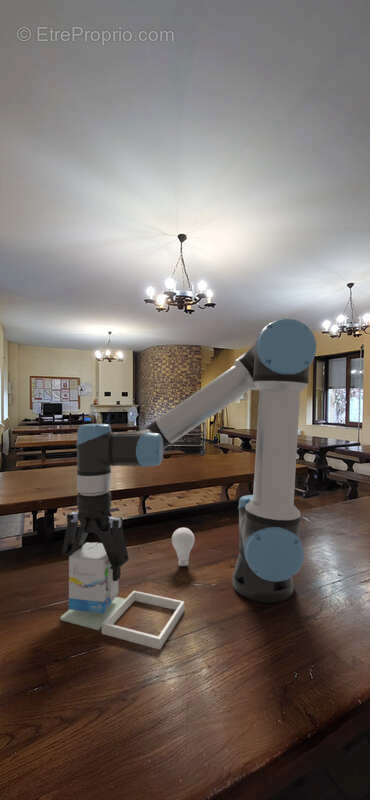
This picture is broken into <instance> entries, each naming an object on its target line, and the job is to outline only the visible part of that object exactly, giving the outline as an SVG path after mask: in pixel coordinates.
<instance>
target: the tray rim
mask: <svg viewBox="0 0 370 800" xmlns="http://www.w3.org/2000/svg"><path fill="white" fill-rule="evenodd" d="M124 599H125V600H124V601H123V602H122V603H121V604H120V605H119V606H118V607H117V608H116V609H115V610H114V612H113V613H112V614H111V615H110V616H109V617H108V618H107V619H106V620H105V621H104V622H103V623H102V628H101V634H102V635H105V636H108V637H113V638H115V639H120V640H124V641H127V642H131V643H134V644H138V645H141V646H142V645H143V646H146V647H149V648H152V649H156V650H161V649H162V647H164V646H163V645H164V644H165V642H167V641H166V640H168V638H169V636H170V635H171V633H172V631H174V628H175V626H176V624H177V623H178V622H179V620H180V619H181V617H182V615H183V614H184V612H185V611H186V609H185V603H186V602H185V601H183V600H180V599H179V600H178V599H175V598H171V597H170V598H169V597H166V596H161V595H157V594H156V595H155V594H152V593H147V592H143V591H138V590H133V591H132V592H131V593H130V594H129V595H127V597H126V598H124ZM134 602H138V603H143V604H147V605H152V606H157V607H161V608H166V609H168V610H169V609H170V610H174V612H173V614H172V616H171V617H169V618H170V619H169V620H168V621H167V623H166V624H165V625H164V628H163V629H162V630H161V632H160V634H159V635H153V634H150V633H147V632H142V631H138V630H135V629H133V628H132V629H130V628H127V627H124V626H119V625H116V622H117V621H118V620H119V618H120V617H121V616H122V615H124V613H125V612H126V611H127V610H128V609H129V608H130V606H132V604H133V603H134Z"/></svg>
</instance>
